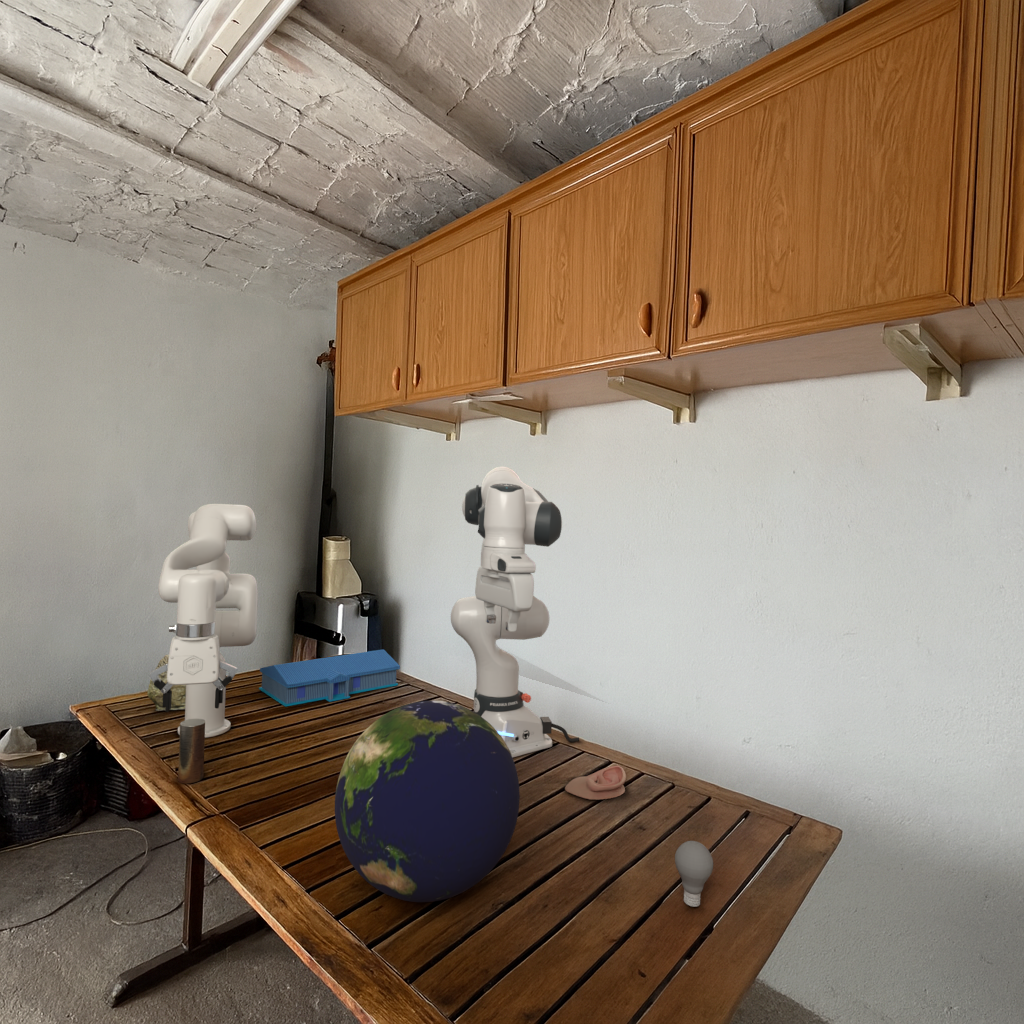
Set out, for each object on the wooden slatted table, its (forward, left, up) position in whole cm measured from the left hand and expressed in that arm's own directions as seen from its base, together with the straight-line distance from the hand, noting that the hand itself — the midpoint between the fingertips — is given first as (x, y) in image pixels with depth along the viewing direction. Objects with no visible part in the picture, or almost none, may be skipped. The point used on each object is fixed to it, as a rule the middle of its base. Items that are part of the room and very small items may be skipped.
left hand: (193, 708), depth 139 cm
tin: (0, 0, -16) cm, 16 cm away
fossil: (-52, +5, -16) cm, 55 cm away
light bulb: (+86, +62, -16) cm, 107 cm away
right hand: (+42, +52, +22) cm, 70 cm away
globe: (+60, +27, -16) cm, 68 cm away
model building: (-50, +48, -16) cm, 72 cm away
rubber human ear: (+47, +76, -16) cm, 91 cm away
